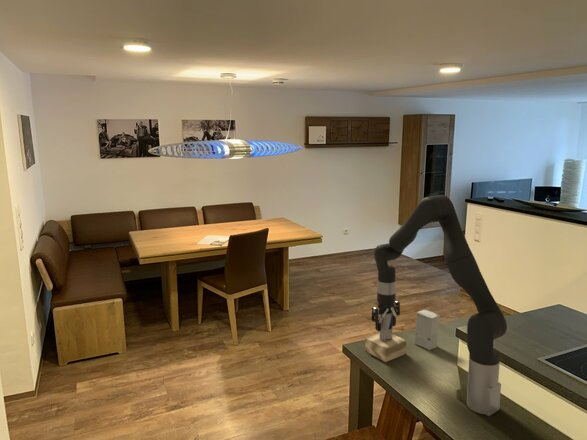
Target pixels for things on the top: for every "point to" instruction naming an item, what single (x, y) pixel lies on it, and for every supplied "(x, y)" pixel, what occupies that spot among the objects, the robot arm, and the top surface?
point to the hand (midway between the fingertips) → (385, 328)
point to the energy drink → (386, 328)
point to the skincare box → (427, 329)
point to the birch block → (385, 347)
